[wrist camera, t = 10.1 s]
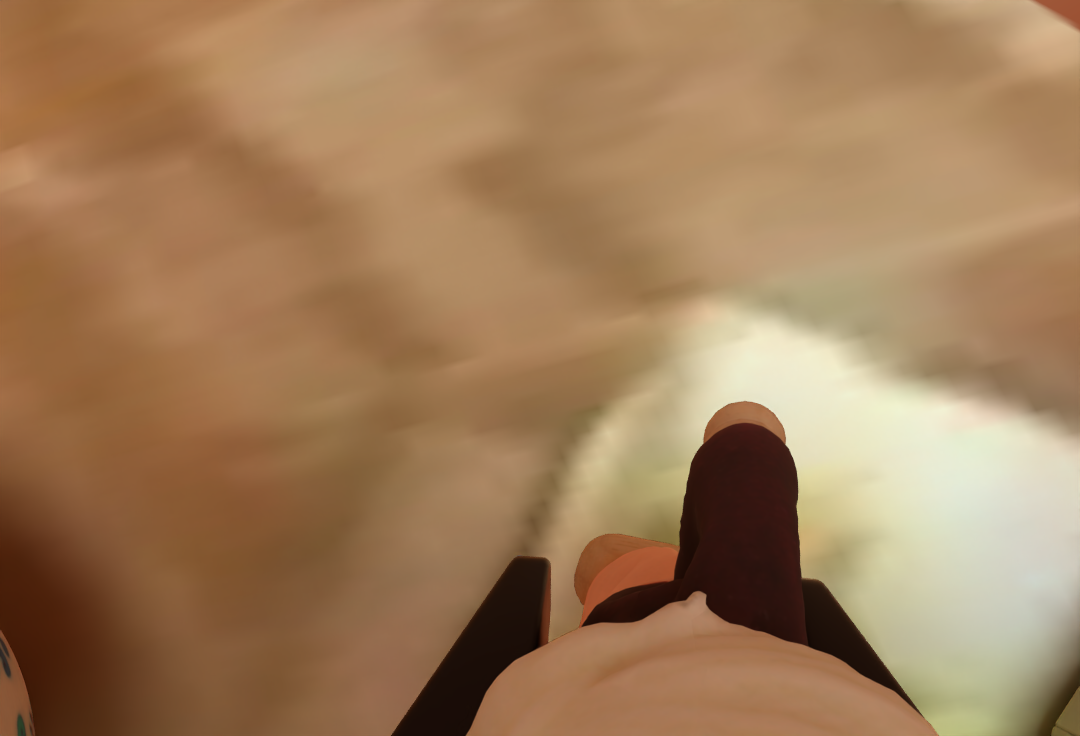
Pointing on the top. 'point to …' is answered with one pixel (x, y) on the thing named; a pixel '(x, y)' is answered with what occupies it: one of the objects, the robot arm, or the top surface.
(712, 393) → the top surface
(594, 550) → the grandmother figurine
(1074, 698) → the pan
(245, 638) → the top surface
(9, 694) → the chinaware
